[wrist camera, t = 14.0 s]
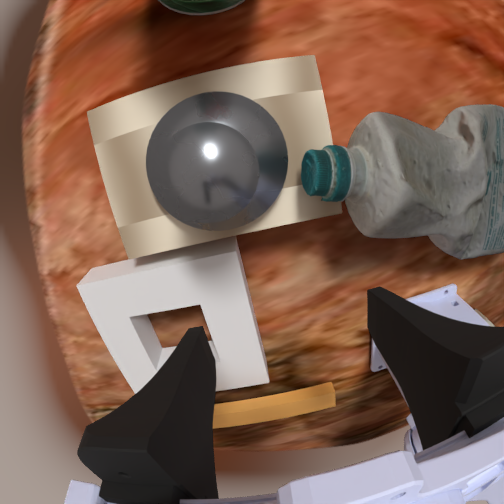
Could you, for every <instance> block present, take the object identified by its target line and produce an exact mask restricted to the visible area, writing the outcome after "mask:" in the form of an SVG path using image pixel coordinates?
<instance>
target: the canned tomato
mask: <svg viewBox="0 0 504 504" xmlns="http://www.w3.org/2000/svg"><path fill="white" fill-rule="evenodd" d="M158 1H159V2H160V3H161V4H162V5H164V6H165V7H167V8H169V9H170V10H173V11H175V12H178V13H182V14H187V15H210V14H216V13H220V12H224V11H226V10H229V9H232V8H234V7H236V6H238V5H239V4H241V3H243V2H244V1H245V0H158Z"/></svg>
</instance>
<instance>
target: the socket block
mask: <svg viewBox="0 0 504 504" xmlns="http://www.w3.org/2000/svg"><path fill="white" fill-rule="evenodd" d="M77 288H78V290H79V293H80V295H81V297H82V299H83V301H84V303H85V305H86V307H87V309H88V312H89V314H90V316H91V318H92V320H93V322H94V324H95V325H96V327H97V329H98V331H99V333H100V335H101V337H102V339H103V341H104V342H105V344H106V346H107V348H108V350H109V351H110V353H111V355H112V357H113V358H114V360H115V362H116V364H117V365H118V367H119V369H120V370H121V372H122V374H123V375H124V377H125V378H126V380H127V382H128V383H129V385H130V386H131V388H132V390H133V391H134V393H135V394H136V393H137V392H138V391H140V390H141V389H142V388H143V387H144V386H145V385H146V384H147V383H148V382H149V381H150V380H151V379H152V377H153V376H154V375H155V374H156V373H157V372H158V371H159V369H160V368H161V367H162V366H163V364H164V363H165V362H166V361H167V359H168V358H169V357H170V355H171V354H172V352H173V351H174V350H175V348H176V347H177V346H175V347H168V348H162V346H161V344H160V342H159V340H158V338H157V335H156V333H155V331H154V329H153V327H152V324H151V322H150V320H149V318H148V315H147V314H150V313H156V312H161V311H167V310H173V309H178V308H184V307H189V306H195V305H201V308H202V311H203V314H204V317H205V320H206V323H207V325H208V328H209V331H210V334H211V337H212V339H213V341H208V342H209V345H210V347H211V350H212V353H213V355H214V358H215V360H216V391H221V390H228V389H235V388H241V387H247V386H253V385H259V384H264V383H269V375H268V368H267V361H266V356H265V352H264V348H263V344H262V340H261V336H260V332H259V328H258V324H257V320H256V316H255V312H254V308H253V304H252V300H251V296H250V292H249V288H248V284H247V280H246V276H245V271H244V267H243V263H242V259H241V255H240V251H239V247H238V242H237V238H236V236H231V237H226V238H222V239H217V240H213V241H208V242H204V243H199V244H195V245H190V246H186V247H181V248H177V249H173V250H168V251H164V252H160V253H155V254H151V255H147V256H142V257H138V258H134V259H129V260H124V261H120V262H116V263H112V264H108V265H103V266H99V267H95V268H92V269H91V270H90V271H89V272H88V273H87V274H86V275H85V277H84V278H83V279H82V280H81V281H80V282H79V283H78V285H77Z"/></svg>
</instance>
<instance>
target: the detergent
mask: <svg viewBox="0 0 504 504" xmlns="http://www.w3.org/2000/svg"><path fill="white" fill-rule="evenodd" d="M301 180H302V186H303V188H304V190H305V192H306V193H307V195H309V196H322V199H321V201H326V202H338V201H344V200H345V203H346V206H347V209H348V213H349V215H350V216H351V218H352V221H353V223H354V224H355V226H356V227H357V228H358V230H359V231H360V232H361V233H362V234H364V235H365V236H367V237H372V238H410V237H419V236H429V238H430V240H431V241H432V242H433V243H434V245H435V246H437V247H438V248H440V249H441V250H442V251H444V252H445V253H447V254H449V255H451V256H454V257H456V258H458V259H467V258H476V257H478V256H484V255H492V254H498V253H503V252H504V107H500V106H497V105H491V104H489V105H468V106H463V107H459V108H456V109H455V110H453V111H452V112H451V113H450V114H448V115H447V117H446V118H445V119H444V121H443V123H442V124H441V125H440V126H439V127H438V128H437V129H436V130H435V131H433V130H431V129H429V128H427V127H424V126H422V125H419V124H417V123H415V122H412V121H410V120H408V119H405V118H402V117H400V116H396V115H392V114H389V113H384V112H374V113H370V114H368V115H367V116H366V117H365V118H364V119H363V120H362V121H361V122H360V124H358V125H357V127H356V128H355V130H354V132H353V134H352V135H351V137H350V140H349V143H348V146H347V148H346V147H344V146H337V145H327V146H325V147H324V148H323V149H322V150H314V149H310V150H308V151H306V153H305V154H304V157H303V160H302V163H301Z"/></svg>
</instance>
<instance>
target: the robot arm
mask: <svg viewBox="0 0 504 504" xmlns="http://www.w3.org/2000/svg"><path fill="white" fill-rule="evenodd" d="M456 292H457V286H456V285H455V284H450V285H447V286H444V287H442V288H439V289H436V290H433V291H430V292H427V293H423V294H420V295H417V296H414V297H411V298H408V299H404V298H402V297H400V296H398V295H396V294H394V293H392V292H390V291H388V290H386V289H384V288H382V287H376V288H373V289H369V290H367V298H368V329H369V332H370V334H371V336H372V350H371V370H372V371H373V372H376V371H379V370H382V369H385V368H387V369H388V370H389V372H390V374H391V376H392V378H393V379H394V381H395V383H396V385H397V387H398V388H399V390H400V392H401V394H402V396H403V398H404V399H405V401H406V403H407V405H408V407H409V409H410V411H411V414H410V415H409V416H408V417H407V418H406V419H407V421H408V423H409V425H410V427H411V429H409V430H408V431H407V432H406V434H405V437H404V451H400V450H398V451H395V452H391V453H387V454H383V455H381V456H378V457H375V458H372V459H369V460H366V461H362V462H359V463H356V464H352V465H349V466H345V467H342V468H338V469H334V470H330V471H326V472H322V473H318V474H313V475H309V476H306V477H302V478H299V479H295V480H292V481H290V482H288V483H286V484H285V485H283V486H281V487H280V488H279V489H278V491H277V493H273V494H266V495H258V496H249V497H238V498H224V499H219V498H218V491H217V483H216V474H215V463H214V449H213V415H214V404H215V393H216V360H215V358H214V355H213V353H212V350H211V347H210V345H209V342H208V339H207V337H206V334H205V331H204V328H203V326H200V327H194V328H189V329H188V331H187V332H186V333H185V335H184V336H183V338H182V339H181V341H180V342H179V344H178V345H177V347H176V348H175V350H174V351H173V352H172V354H171V355H170V357H169V358H168V359H167V361H166V362H165V363H164V364H163V366H162V367H161V368H160V369H159V371H158V372H157V373H156V374H155V375H154V376H153V377H152V379H151V380H150V381H149V382H148V383H147V384H146V385H145V386H144V387H143V388H142V389H141V390H140V391H138V392H137V393H136V394H135V395H134V396H132V397H131V398H130V399H129V400H128V401H127V402H125V403H124V404H123V405H121V406H120V407H118V408H117V409H115V410H114V411H112V412H111V413H109V414H108V415H106V416H105V417H103V418H101V419H99V420H97V421H95V422H94V423H92V424H90V425H88V426H86V429H85V431H84V434H83V437H82V440H81V443H80V445H79V448H78V456H79V458H80V460H81V461H82V462H83V464H84V465H85V466H87V467H88V468H89V469H90V470H91V471H92V472H93V473H94V474H96V475H97V476H98V477H99V478H100V479H102V484H101V487H100V486H98V485H96V484H92V483H88V482H82V481H77V480H71V482H70V485H69V488H68V492H67V495H66V499H65V502H64V504H466V502H467V501H476V500H486V501H487V503H488V504H504V327H493V326H490V325H489V324H488V323H487V322H486V321H485V320H484V319H483V318H482V317H481V316H480V315H479V314H478V313H477V312H476V311H475V310H474V309H472V308H471V307H470V306H469V305H468V304H467V303H466V302H465V301H464V300H463V299H462V298H461V297H459V296H458V295H457V294H456Z"/></svg>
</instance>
